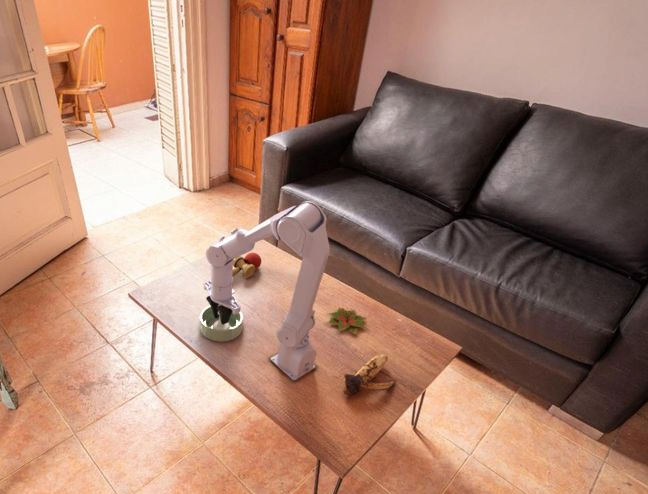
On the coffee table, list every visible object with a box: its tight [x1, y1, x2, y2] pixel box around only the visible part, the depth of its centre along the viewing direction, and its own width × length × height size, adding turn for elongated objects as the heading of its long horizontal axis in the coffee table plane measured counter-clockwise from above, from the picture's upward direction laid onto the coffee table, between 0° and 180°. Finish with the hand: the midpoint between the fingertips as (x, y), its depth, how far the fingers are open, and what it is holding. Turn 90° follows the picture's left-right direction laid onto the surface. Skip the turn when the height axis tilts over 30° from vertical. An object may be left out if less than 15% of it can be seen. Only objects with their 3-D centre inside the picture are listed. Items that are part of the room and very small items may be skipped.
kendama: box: [232, 252, 262, 278], centre depth 144 cm, size 8×6×18 cm
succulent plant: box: [327, 306, 367, 336], centre depth 127 cm, size 12×12×5 cm
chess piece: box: [213, 304, 230, 330], centre depth 122 cm, size 5×5×10 cm
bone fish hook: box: [343, 353, 395, 398], centre depth 109 cm, size 9×5×18 cm
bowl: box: [199, 305, 244, 342], centre depth 124 cm, size 12×12×4 cm
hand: (221, 319), depth 123 cm, fingers open, 3 cm apart
